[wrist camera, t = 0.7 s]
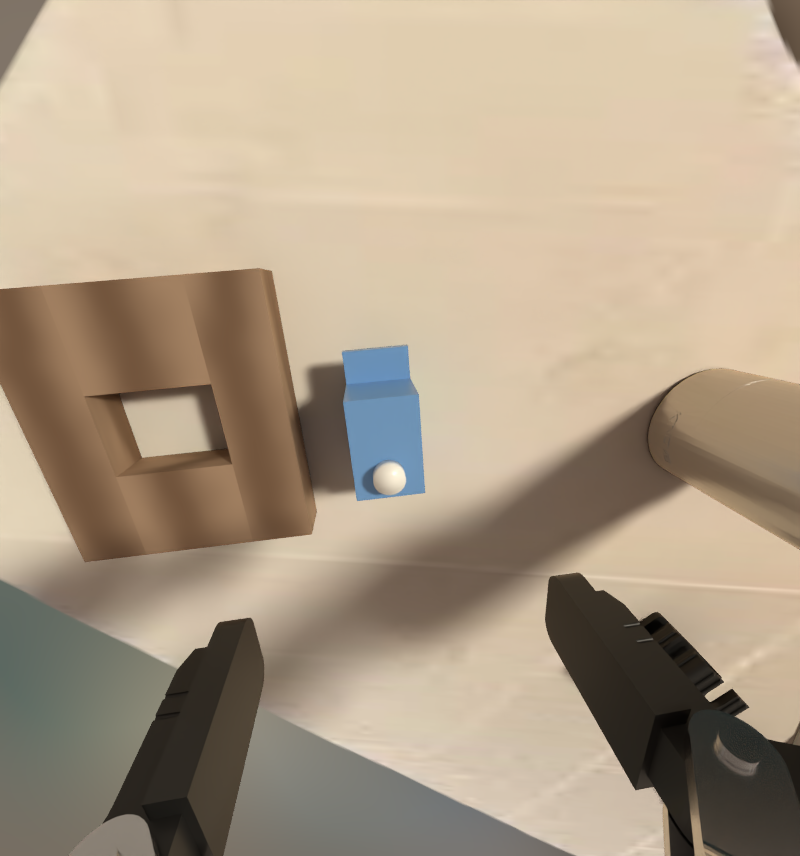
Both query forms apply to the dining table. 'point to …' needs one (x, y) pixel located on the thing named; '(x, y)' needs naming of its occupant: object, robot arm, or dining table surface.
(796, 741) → the phone holder
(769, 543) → the dining table surface
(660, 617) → the end cap
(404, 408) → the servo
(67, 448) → the board
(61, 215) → the dining table surface
